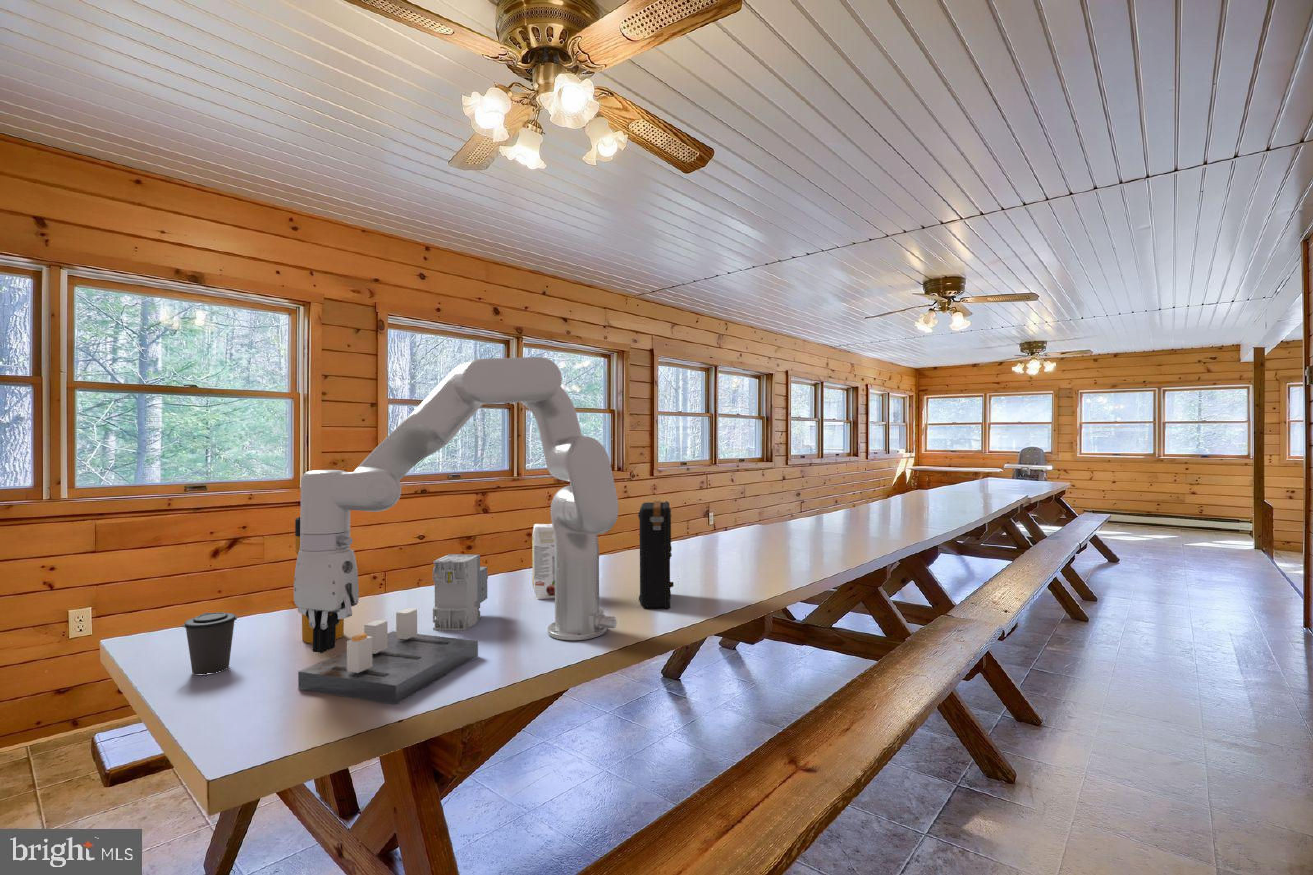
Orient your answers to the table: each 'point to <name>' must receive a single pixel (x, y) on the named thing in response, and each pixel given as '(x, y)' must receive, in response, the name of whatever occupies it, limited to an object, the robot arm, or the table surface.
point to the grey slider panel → (391, 669)
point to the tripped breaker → (359, 653)
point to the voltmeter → (655, 554)
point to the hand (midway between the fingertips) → (324, 649)
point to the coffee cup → (210, 641)
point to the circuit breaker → (458, 591)
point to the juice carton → (543, 561)
